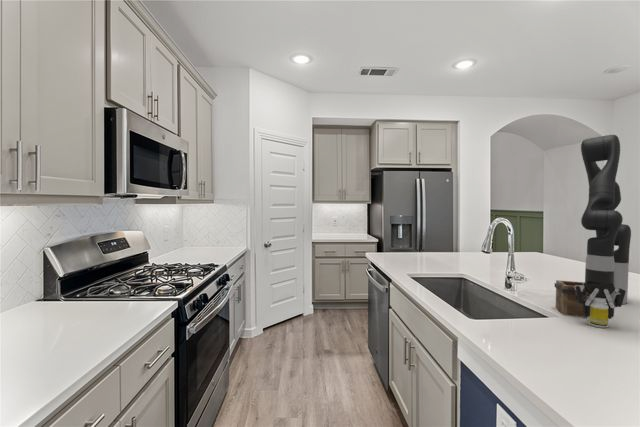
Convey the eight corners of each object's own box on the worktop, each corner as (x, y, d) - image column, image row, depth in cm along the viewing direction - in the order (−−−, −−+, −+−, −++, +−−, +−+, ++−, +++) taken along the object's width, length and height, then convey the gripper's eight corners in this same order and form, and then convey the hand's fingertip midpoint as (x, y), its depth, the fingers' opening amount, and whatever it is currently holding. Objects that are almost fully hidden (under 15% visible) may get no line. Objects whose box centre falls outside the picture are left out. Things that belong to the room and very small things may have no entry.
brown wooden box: (553, 306, 132) (554, 279, 132) (584, 309, 129) (585, 282, 128) (561, 314, 123) (562, 285, 123) (595, 318, 119) (596, 288, 119)
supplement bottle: (611, 328, 109) (613, 300, 109) (593, 327, 110) (594, 298, 110) (601, 323, 115) (602, 295, 114) (583, 321, 116) (584, 294, 115)
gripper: (620, 267, 113) (618, 316, 113) (570, 264, 118) (568, 310, 119) (632, 272, 106) (630, 323, 106) (578, 268, 111) (576, 317, 112)
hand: (597, 316), depth 112 cm, fingers closed on supplement bottle, 5 cm apart
